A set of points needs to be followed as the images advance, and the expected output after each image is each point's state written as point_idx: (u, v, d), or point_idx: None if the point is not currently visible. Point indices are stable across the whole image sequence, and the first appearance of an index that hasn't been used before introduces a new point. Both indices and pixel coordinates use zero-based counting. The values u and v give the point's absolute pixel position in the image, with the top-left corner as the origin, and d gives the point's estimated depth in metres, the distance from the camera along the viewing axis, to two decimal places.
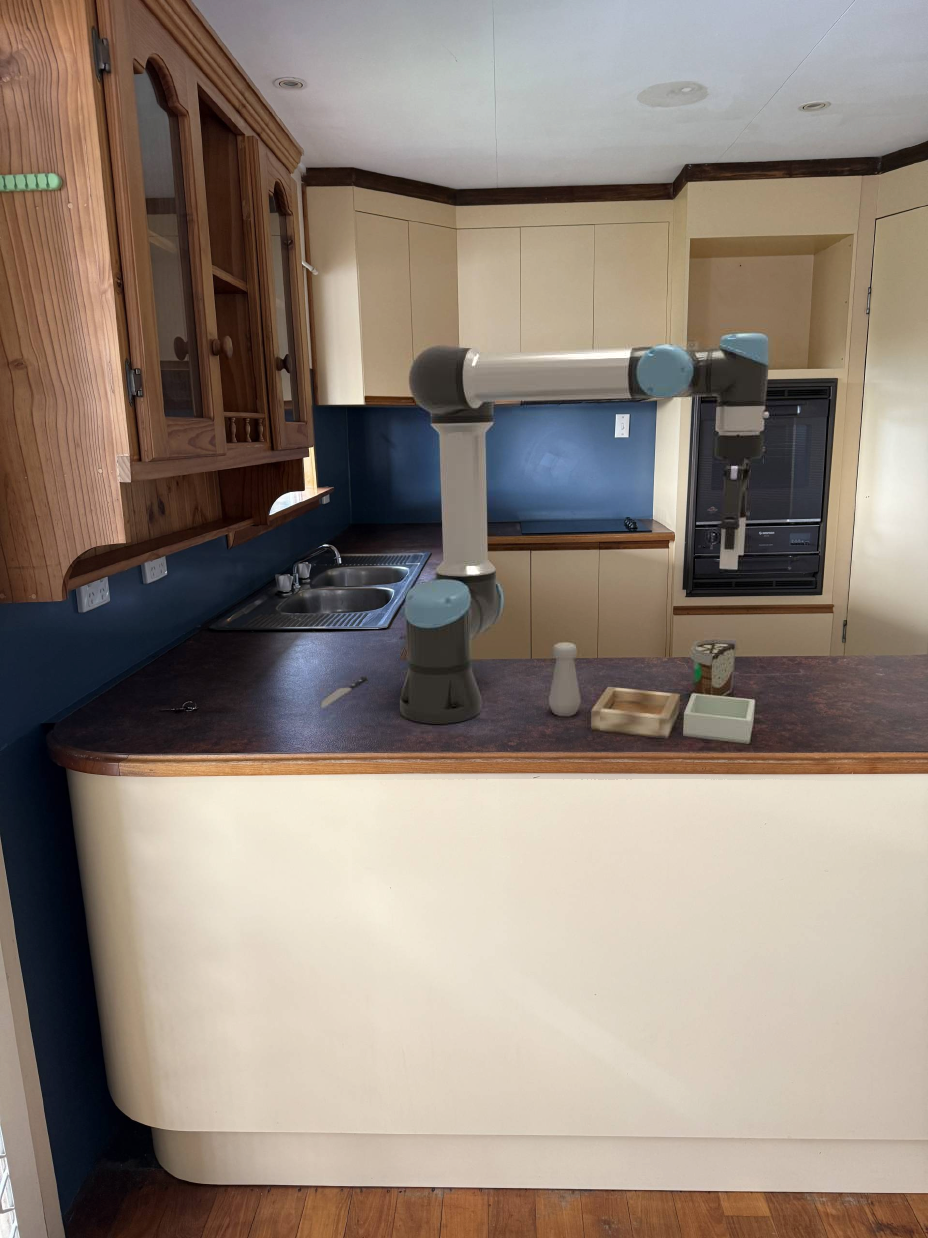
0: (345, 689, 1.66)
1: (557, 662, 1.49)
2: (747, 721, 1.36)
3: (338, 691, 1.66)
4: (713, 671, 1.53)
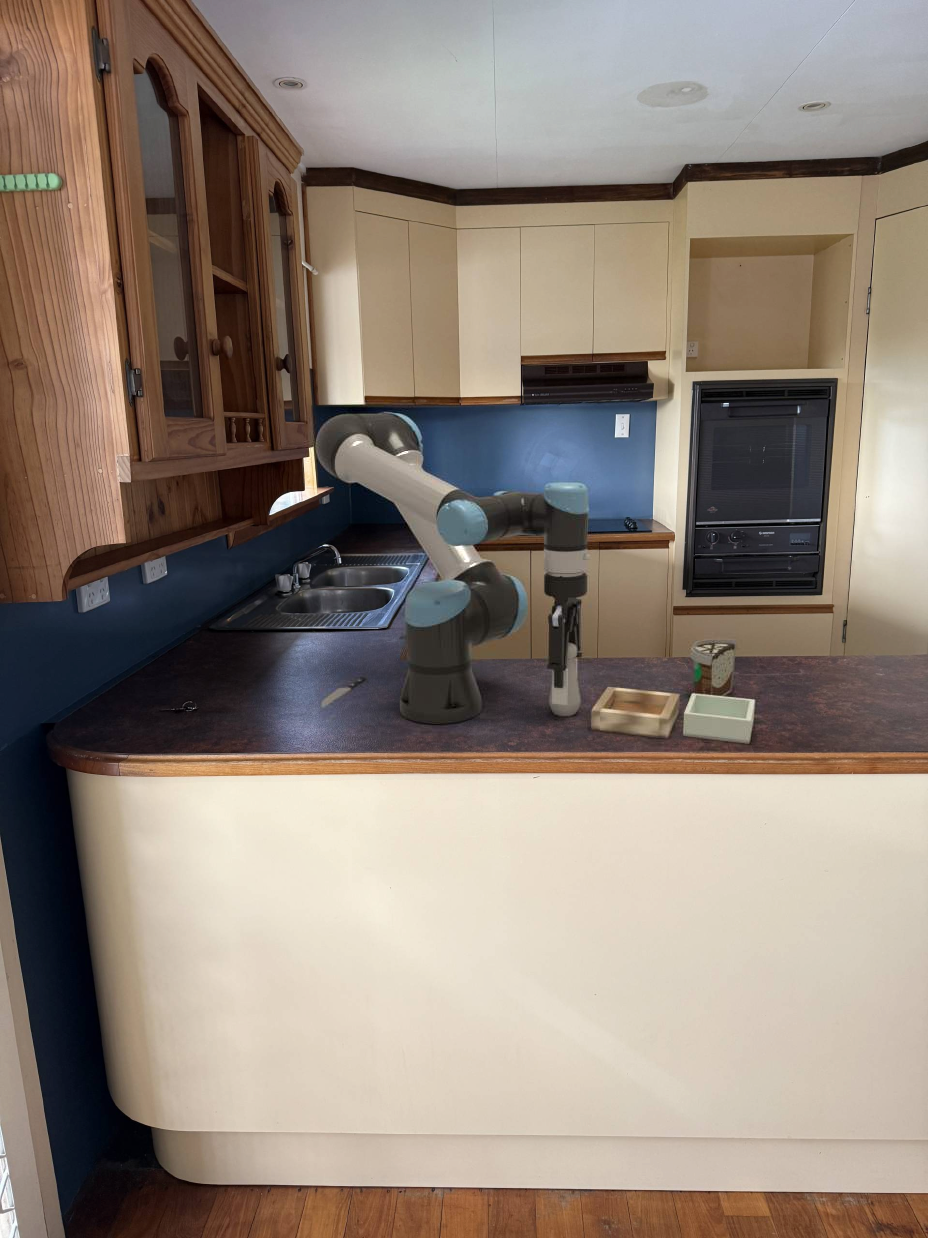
0: (344, 689, 1.67)
1: None
2: (747, 721, 1.36)
3: (337, 691, 1.66)
4: (713, 671, 1.53)
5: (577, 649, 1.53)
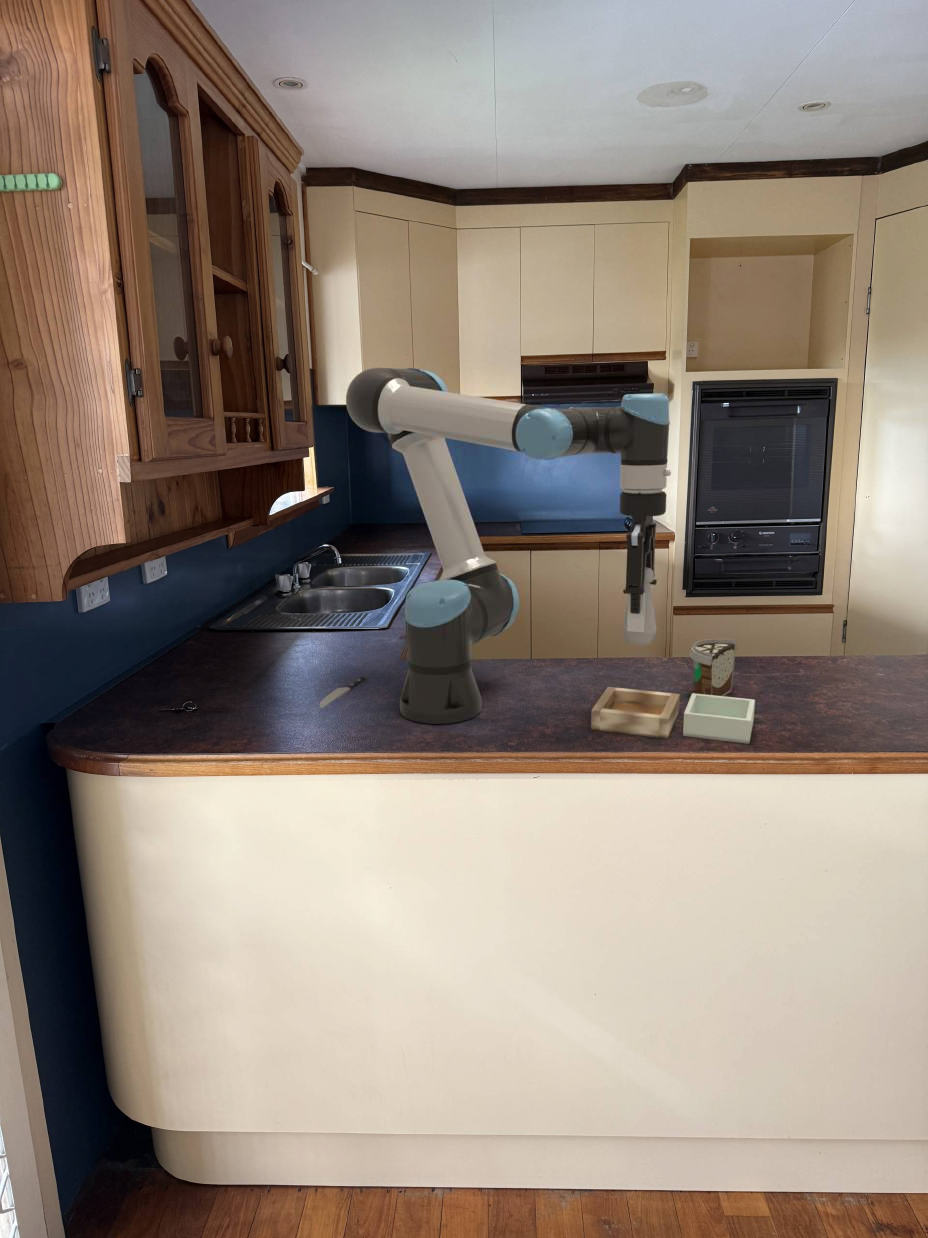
0: (344, 689, 1.67)
1: None
2: (747, 721, 1.36)
3: (337, 691, 1.66)
4: (713, 671, 1.53)
5: None
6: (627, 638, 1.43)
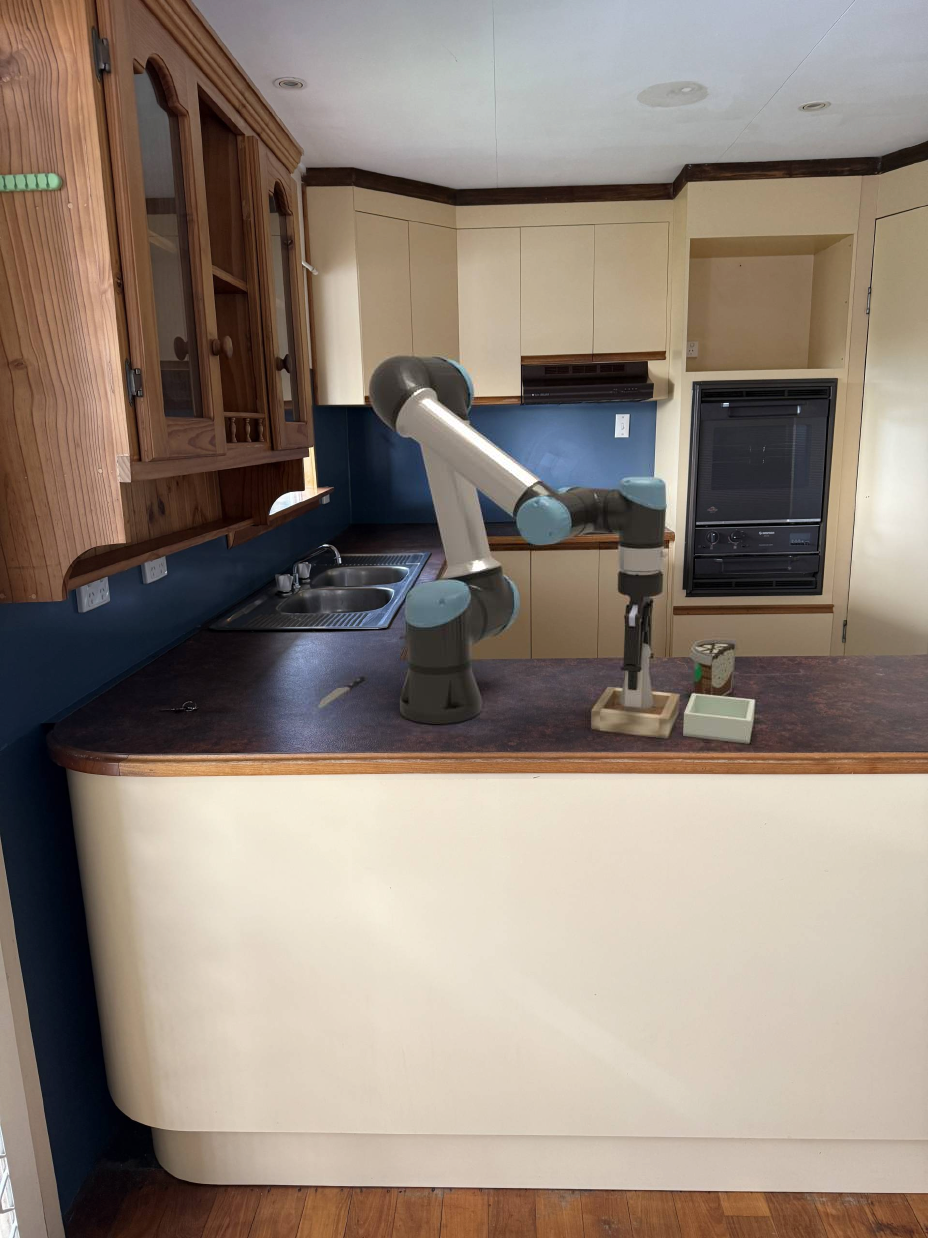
0: (343, 689, 1.67)
1: None
2: (747, 721, 1.36)
3: (336, 691, 1.66)
4: (713, 671, 1.53)
5: None
6: None
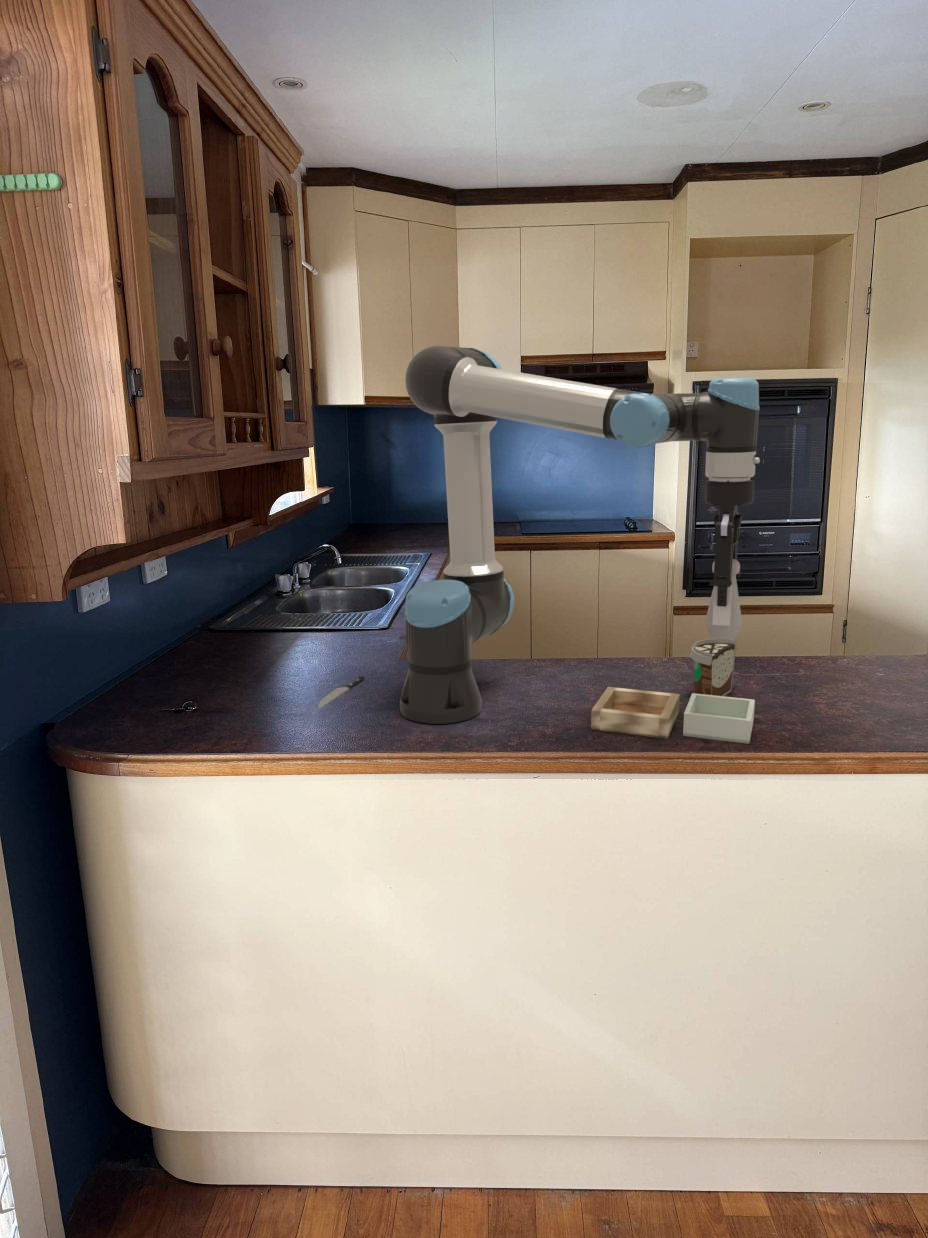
0: (343, 689, 1.67)
1: None
2: (747, 721, 1.36)
3: (336, 691, 1.66)
4: (713, 671, 1.53)
5: None
6: (711, 632, 1.38)
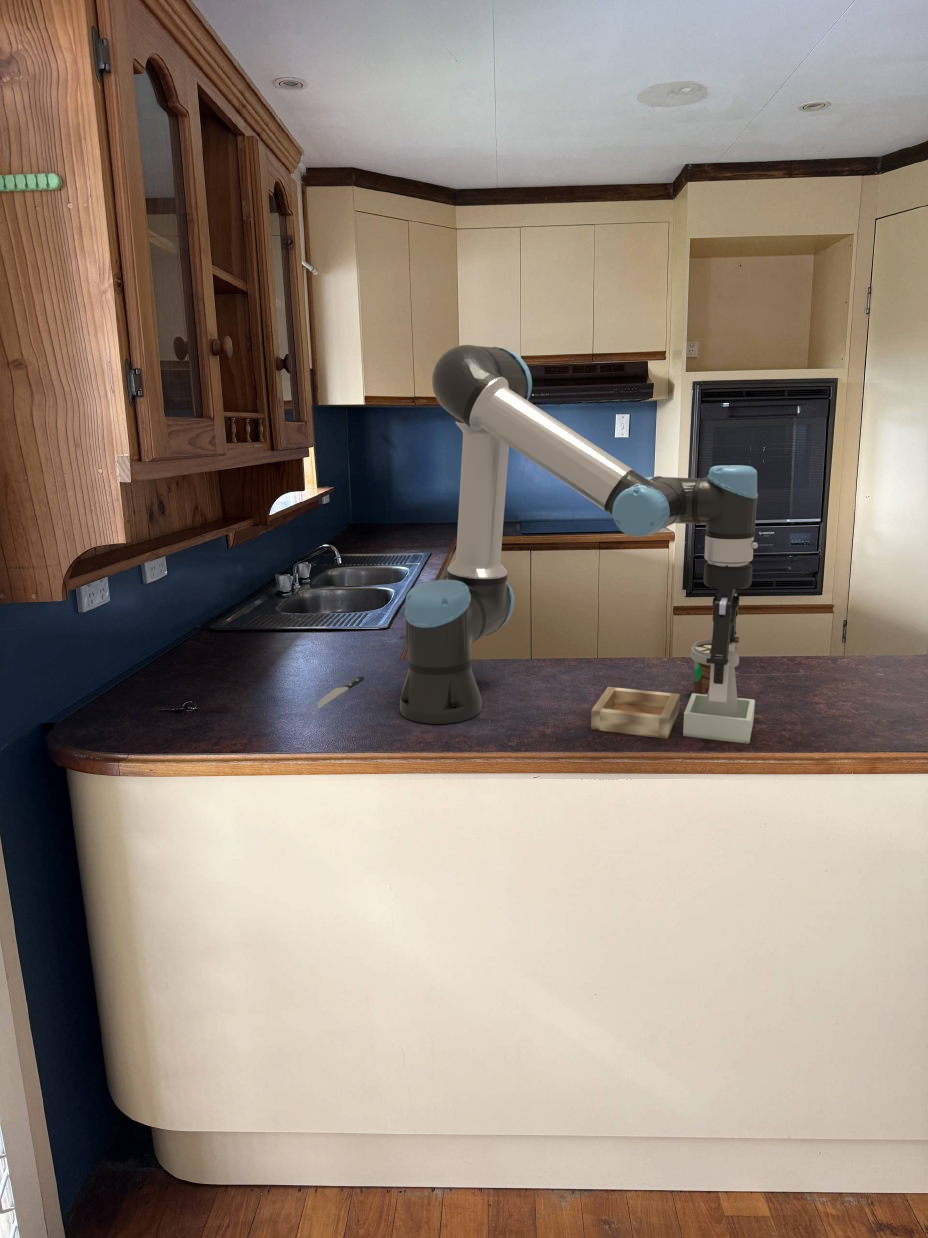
0: (342, 688, 1.67)
1: None
2: (747, 721, 1.36)
3: (335, 690, 1.66)
4: None
5: (734, 634, 1.45)
6: None
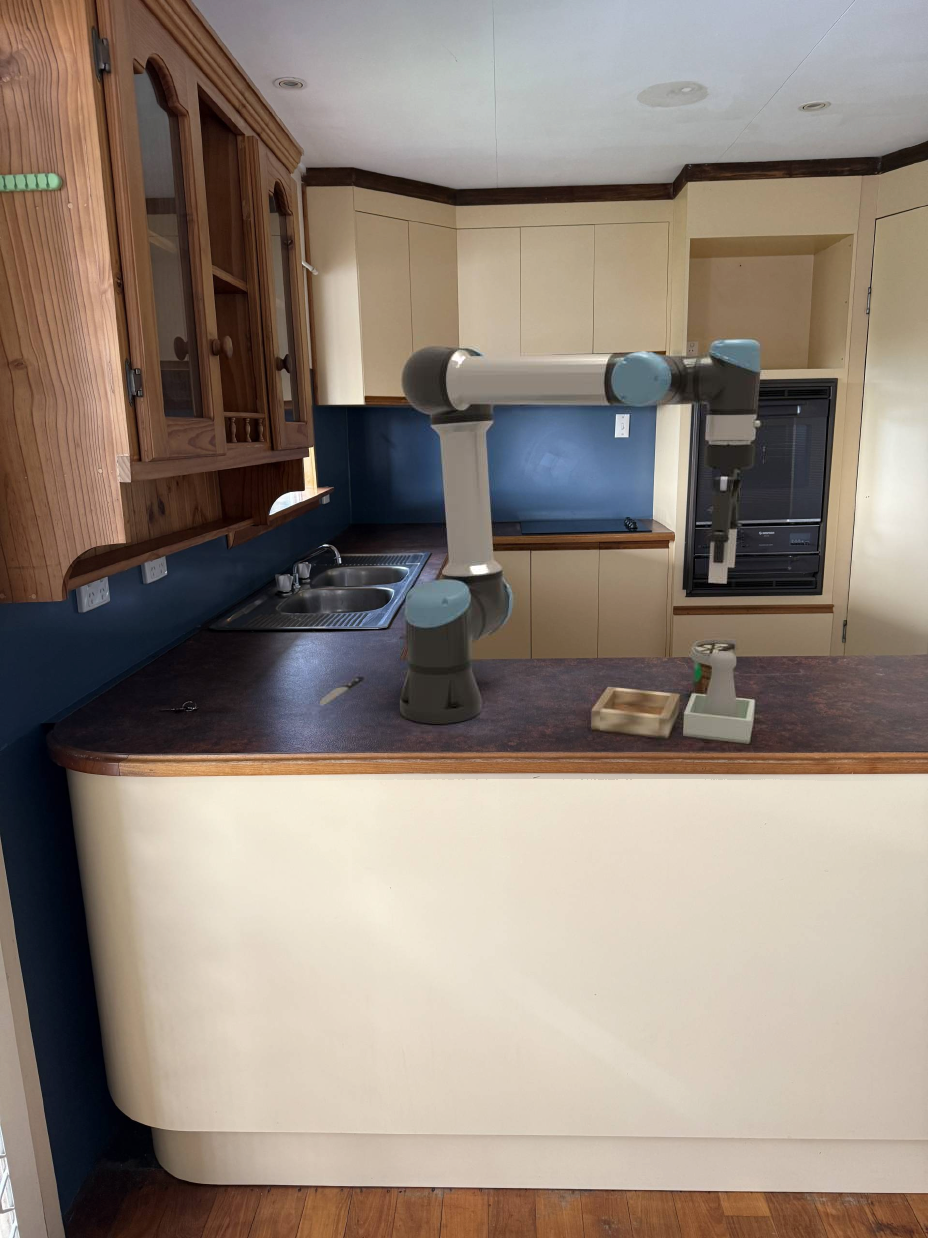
0: (342, 689, 1.67)
1: (715, 672, 1.40)
2: (747, 721, 1.36)
3: (335, 691, 1.66)
4: None
5: (736, 519, 1.41)
6: None
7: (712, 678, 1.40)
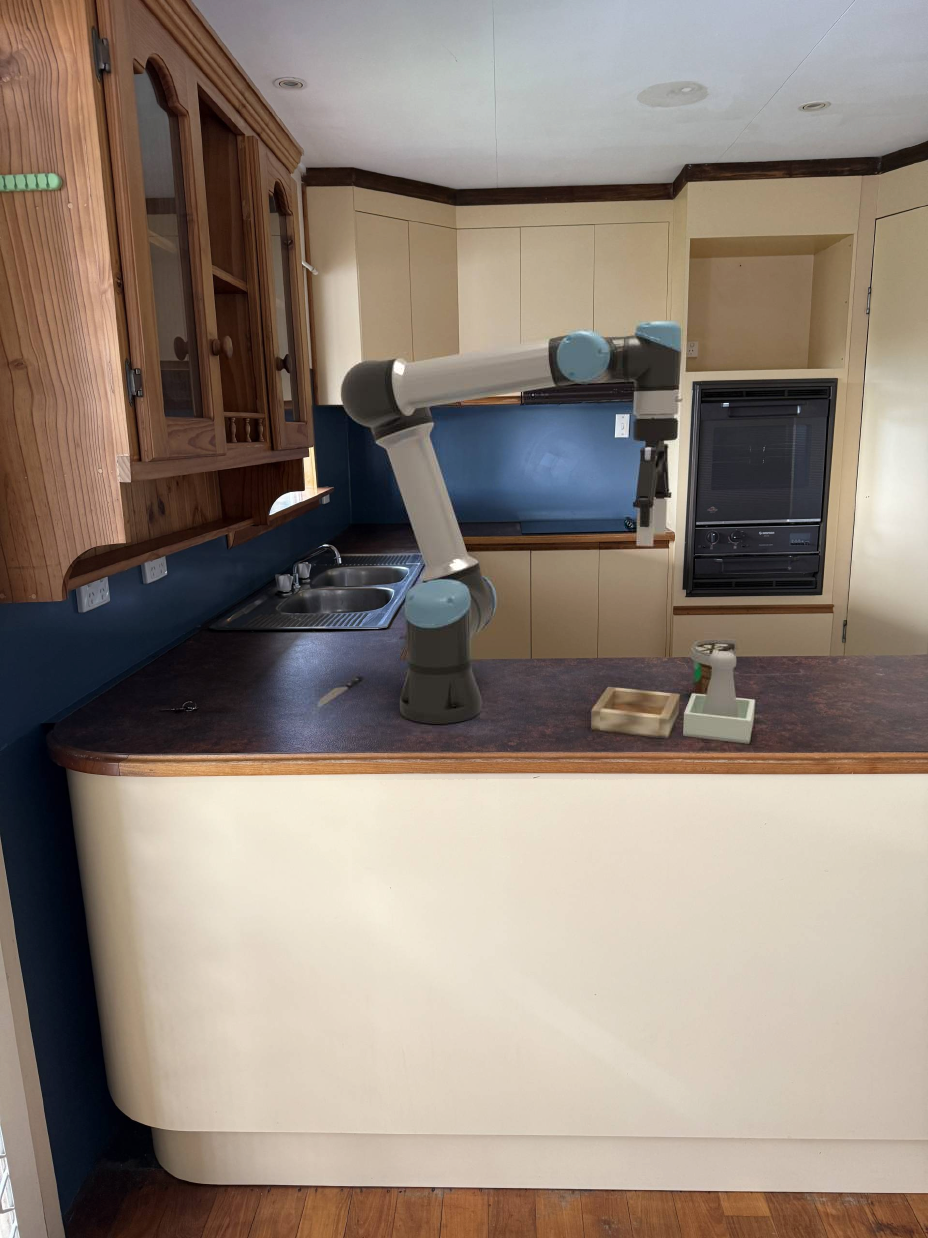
0: (341, 688, 1.67)
1: (715, 672, 1.40)
2: (747, 721, 1.36)
3: (334, 690, 1.66)
4: None
5: (666, 490, 1.53)
6: None
7: (712, 678, 1.40)
